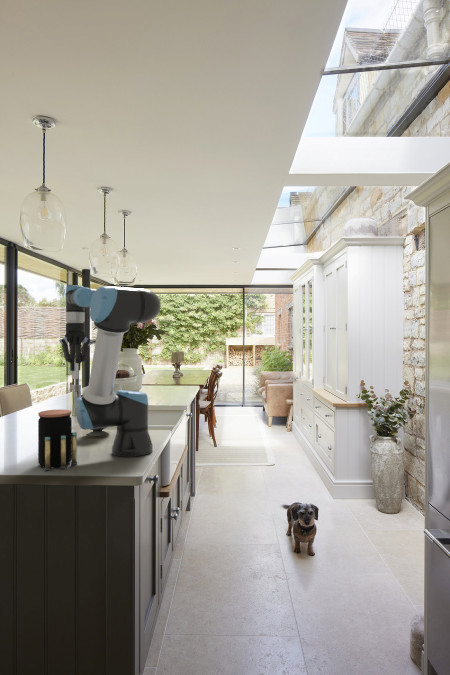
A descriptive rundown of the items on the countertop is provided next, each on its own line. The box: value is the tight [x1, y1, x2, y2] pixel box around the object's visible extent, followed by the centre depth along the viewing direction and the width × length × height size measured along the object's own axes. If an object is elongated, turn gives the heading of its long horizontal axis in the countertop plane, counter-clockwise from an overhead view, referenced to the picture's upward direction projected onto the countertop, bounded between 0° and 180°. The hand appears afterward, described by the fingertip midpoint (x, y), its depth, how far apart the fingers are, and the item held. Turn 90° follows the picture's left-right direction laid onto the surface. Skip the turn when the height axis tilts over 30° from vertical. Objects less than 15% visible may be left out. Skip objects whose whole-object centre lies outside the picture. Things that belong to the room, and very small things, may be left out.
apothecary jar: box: [85, 427, 110, 439], centre depth 194 cm, size 12×12×18 cm
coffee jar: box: [37, 409, 72, 469], centre depth 150 cm, size 11×11×18 cm
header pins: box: [44, 431, 78, 472], centre depth 145 cm, size 4×11×11 cm, turn 135°
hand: (75, 378), depth 183 cm, fingers closed
